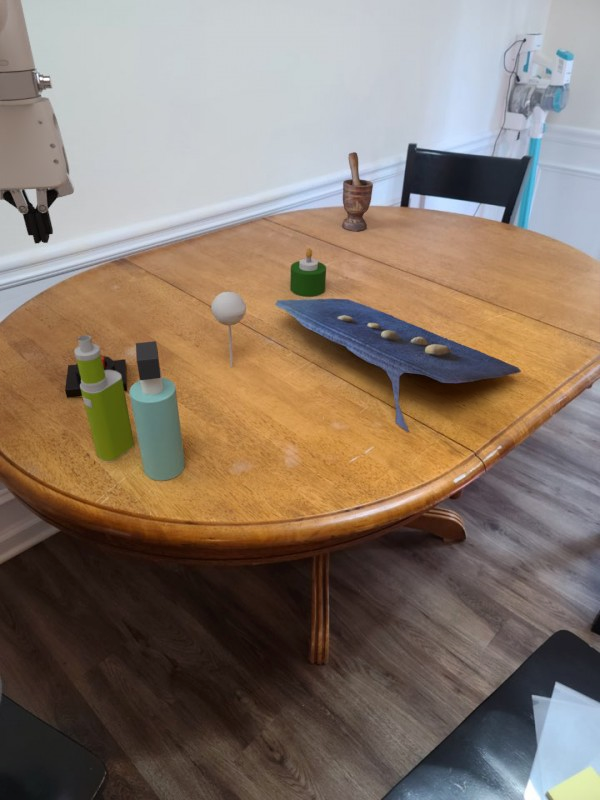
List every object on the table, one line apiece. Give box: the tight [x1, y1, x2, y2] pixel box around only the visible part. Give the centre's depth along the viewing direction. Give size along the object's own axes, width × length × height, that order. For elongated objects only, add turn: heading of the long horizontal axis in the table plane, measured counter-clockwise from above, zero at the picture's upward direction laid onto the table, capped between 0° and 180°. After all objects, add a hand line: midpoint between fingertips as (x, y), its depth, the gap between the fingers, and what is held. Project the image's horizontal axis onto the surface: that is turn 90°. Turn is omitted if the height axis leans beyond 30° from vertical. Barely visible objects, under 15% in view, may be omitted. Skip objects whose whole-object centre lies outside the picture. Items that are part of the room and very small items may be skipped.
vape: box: [73, 334, 135, 463], centre depth 80 cm, size 4×6×20 cm, turn 147°
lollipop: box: [210, 290, 247, 368], centre depth 101 cm, size 6×6×15 cm
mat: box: [274, 298, 522, 434], centre depth 109 cm, size 45×27×12 cm, turn 42°
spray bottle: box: [128, 340, 186, 482], centre depth 77 cm, size 6×6×20 cm
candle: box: [289, 248, 327, 298], centre depth 131 cm, size 8×8×10 cm
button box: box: [64, 355, 128, 399], centre depth 100 cm, size 10×8×4 cm
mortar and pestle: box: [341, 151, 374, 233], centre depth 166 cm, size 12×9×20 cm
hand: (42, 239), depth 77 cm, fingers closed
